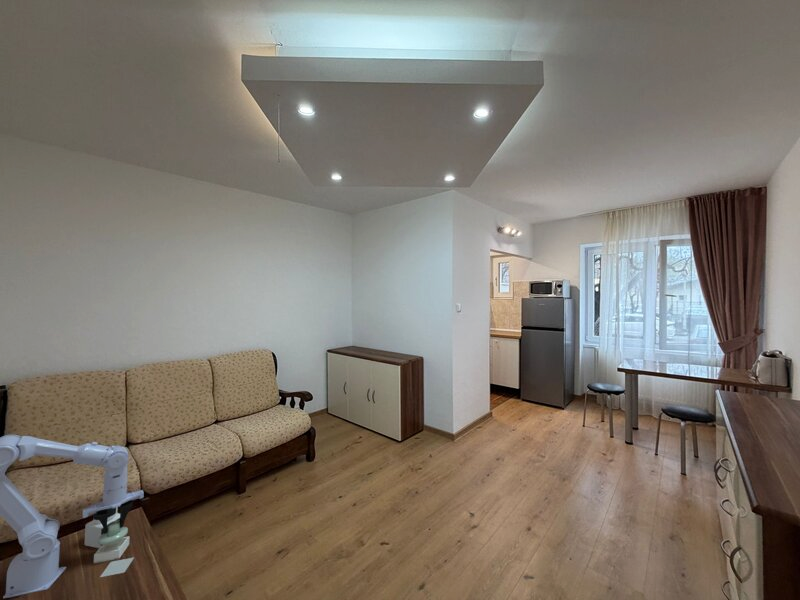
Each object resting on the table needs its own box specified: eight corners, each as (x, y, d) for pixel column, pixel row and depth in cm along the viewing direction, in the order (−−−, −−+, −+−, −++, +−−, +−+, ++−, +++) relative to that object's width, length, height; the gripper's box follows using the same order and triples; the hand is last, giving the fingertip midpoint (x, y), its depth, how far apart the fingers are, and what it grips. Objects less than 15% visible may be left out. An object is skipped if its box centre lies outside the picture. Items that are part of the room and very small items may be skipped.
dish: (93, 564, 97) (94, 554, 97) (105, 549, 103) (105, 540, 103) (118, 559, 99) (119, 550, 99) (129, 545, 105) (129, 536, 105)
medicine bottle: (100, 549, 103) (102, 512, 104) (83, 546, 105) (85, 509, 105) (123, 534, 110) (125, 500, 111) (107, 531, 112) (109, 497, 112)
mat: (99, 578, 92) (99, 577, 92) (110, 563, 98) (110, 561, 98) (124, 573, 94) (124, 572, 94) (134, 558, 100) (134, 557, 100)
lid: (93, 547, 97) (93, 532, 97) (105, 533, 103) (106, 519, 104) (121, 541, 99) (121, 527, 99) (131, 527, 106) (132, 514, 106)
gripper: (84, 501, 94) (82, 547, 93) (146, 482, 105) (144, 523, 104) (83, 492, 99) (80, 536, 98) (141, 474, 109) (140, 514, 109)
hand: (113, 529), depth 102 cm, fingers closed on lid, 3 cm apart
